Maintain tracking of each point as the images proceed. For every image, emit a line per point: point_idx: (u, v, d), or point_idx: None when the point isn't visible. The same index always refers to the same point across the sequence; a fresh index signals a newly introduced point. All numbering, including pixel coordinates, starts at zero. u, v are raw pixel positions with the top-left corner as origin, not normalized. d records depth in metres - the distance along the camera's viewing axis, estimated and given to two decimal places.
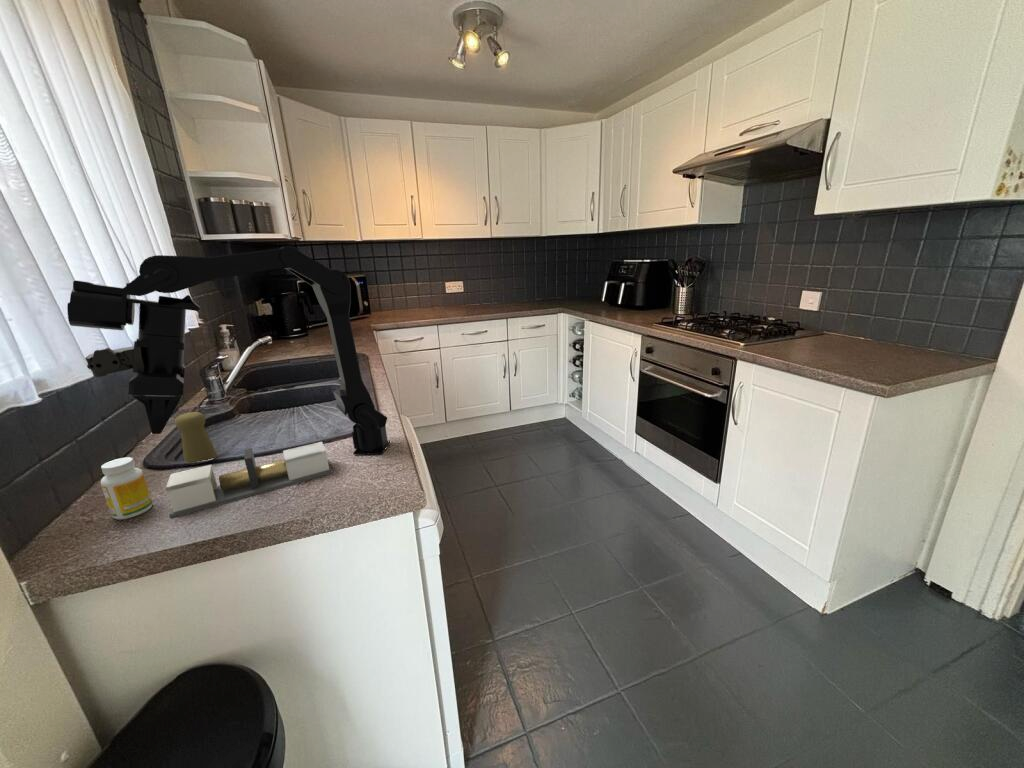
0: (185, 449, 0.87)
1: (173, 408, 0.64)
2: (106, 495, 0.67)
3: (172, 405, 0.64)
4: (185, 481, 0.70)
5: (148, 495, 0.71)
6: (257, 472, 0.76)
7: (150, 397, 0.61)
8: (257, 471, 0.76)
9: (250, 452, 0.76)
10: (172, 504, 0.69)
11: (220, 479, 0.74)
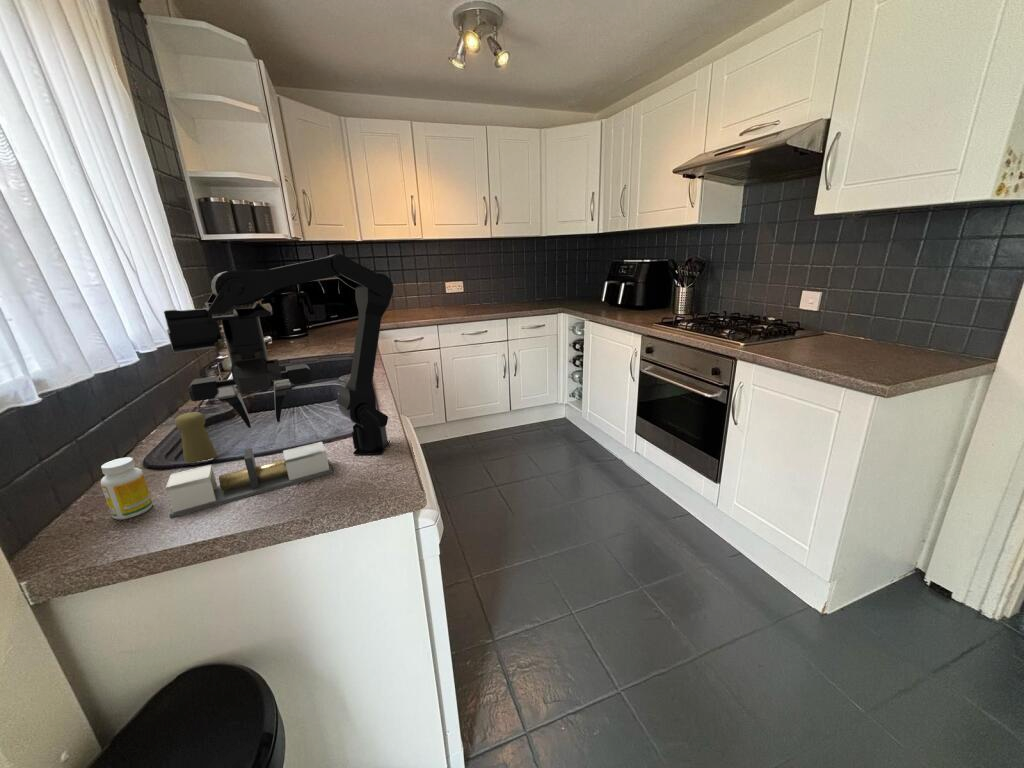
0: (185, 449, 0.87)
1: None
2: (106, 495, 0.67)
3: None
4: (185, 481, 0.70)
5: (148, 495, 0.71)
6: (257, 472, 0.76)
7: (291, 385, 0.77)
8: (257, 471, 0.76)
9: (250, 452, 0.76)
10: (172, 504, 0.69)
11: (220, 479, 0.74)
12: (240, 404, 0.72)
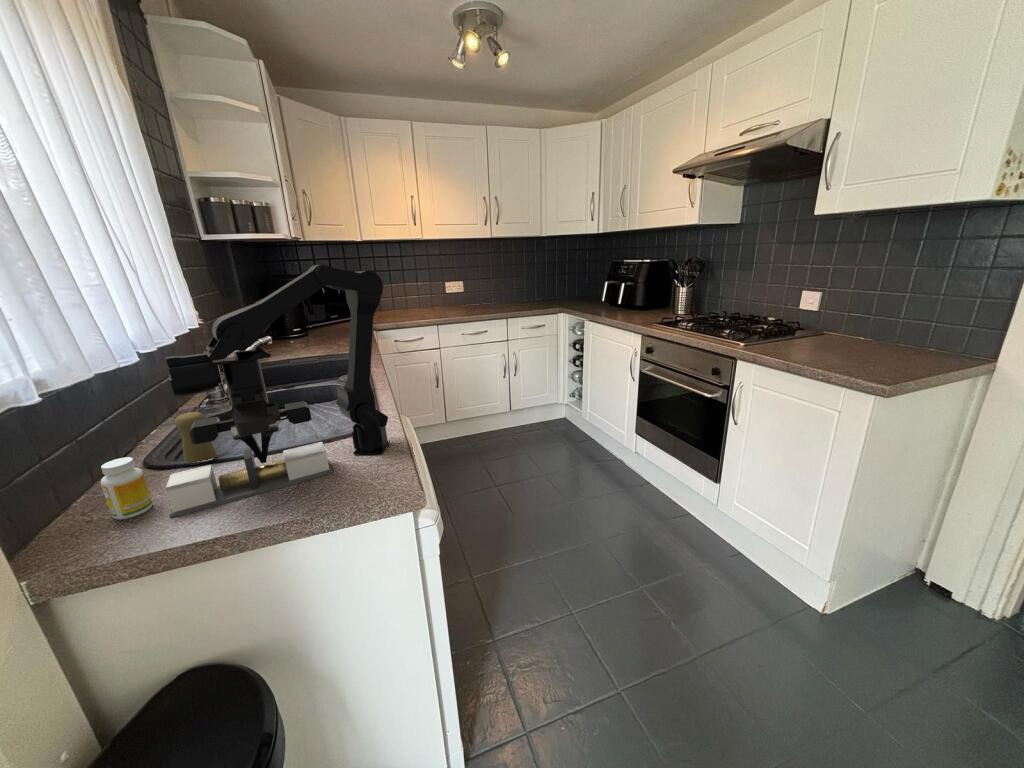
0: (185, 449, 0.87)
1: None
2: (106, 495, 0.67)
3: None
4: (185, 481, 0.70)
5: (148, 495, 0.71)
6: (257, 472, 0.76)
7: None
8: (257, 471, 0.76)
9: (250, 452, 0.76)
10: (172, 504, 0.69)
11: (220, 479, 0.74)
12: (254, 441, 0.75)
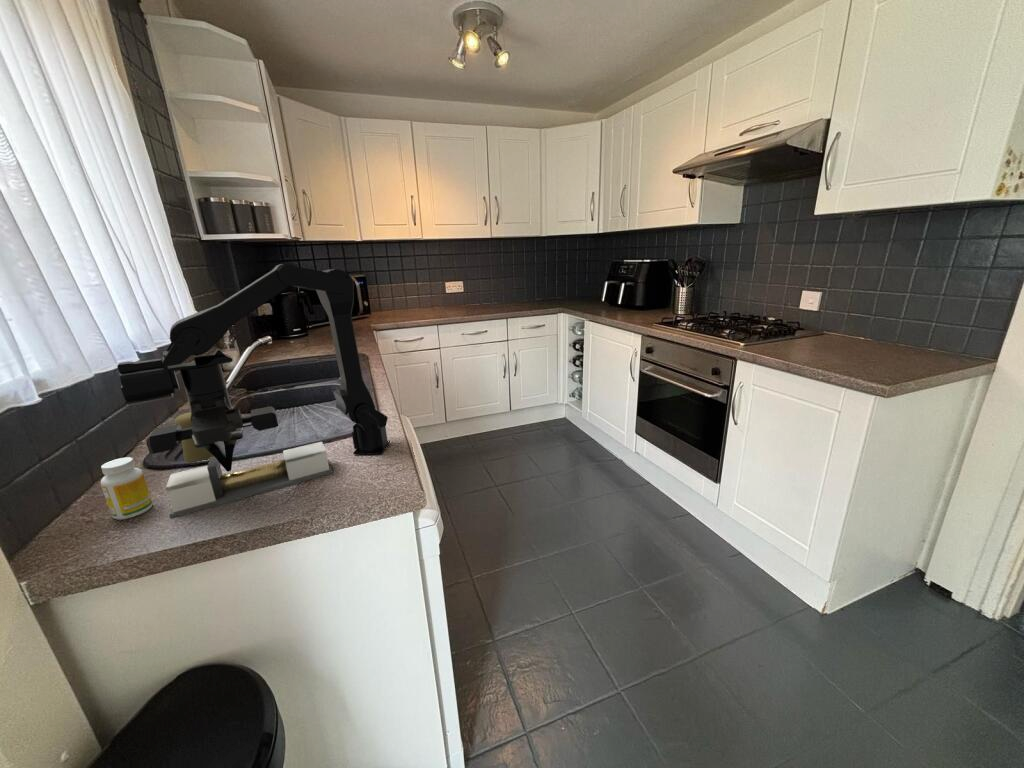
0: (185, 449, 0.87)
1: None
2: (106, 495, 0.67)
3: None
4: (185, 481, 0.70)
5: (148, 495, 0.71)
6: (222, 481, 0.74)
7: None
8: (222, 480, 0.74)
9: (214, 460, 0.74)
10: (172, 504, 0.69)
11: None
12: (217, 449, 0.72)
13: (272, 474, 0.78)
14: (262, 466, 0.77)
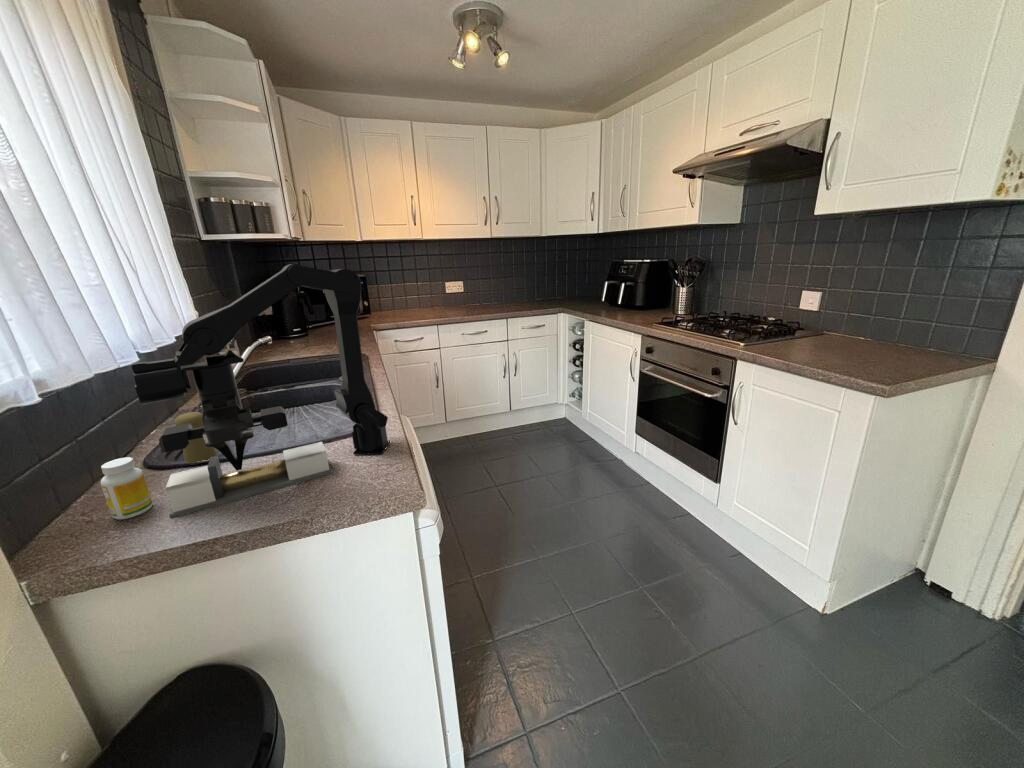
0: (185, 449, 0.87)
1: None
2: (106, 495, 0.67)
3: None
4: (185, 481, 0.70)
5: (148, 495, 0.71)
6: (222, 481, 0.74)
7: (253, 432, 0.75)
8: (222, 480, 0.74)
9: (215, 460, 0.74)
10: (172, 504, 0.69)
11: None
12: (227, 448, 0.73)
13: (273, 474, 0.78)
14: (262, 466, 0.78)
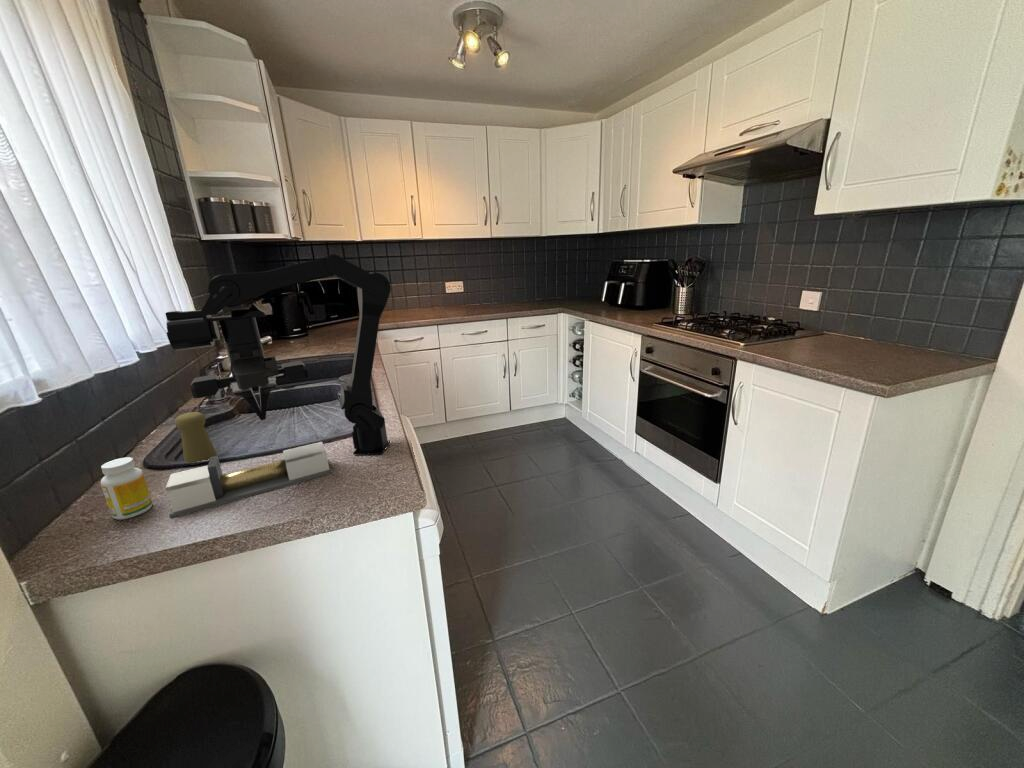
0: (185, 449, 0.87)
1: None
2: (106, 495, 0.67)
3: None
4: (185, 481, 0.70)
5: (148, 495, 0.71)
6: (222, 481, 0.74)
7: (276, 384, 0.80)
8: (222, 480, 0.74)
9: (215, 460, 0.74)
10: (172, 504, 0.69)
11: None
12: (253, 398, 0.77)
13: (273, 474, 0.78)
14: (262, 466, 0.78)
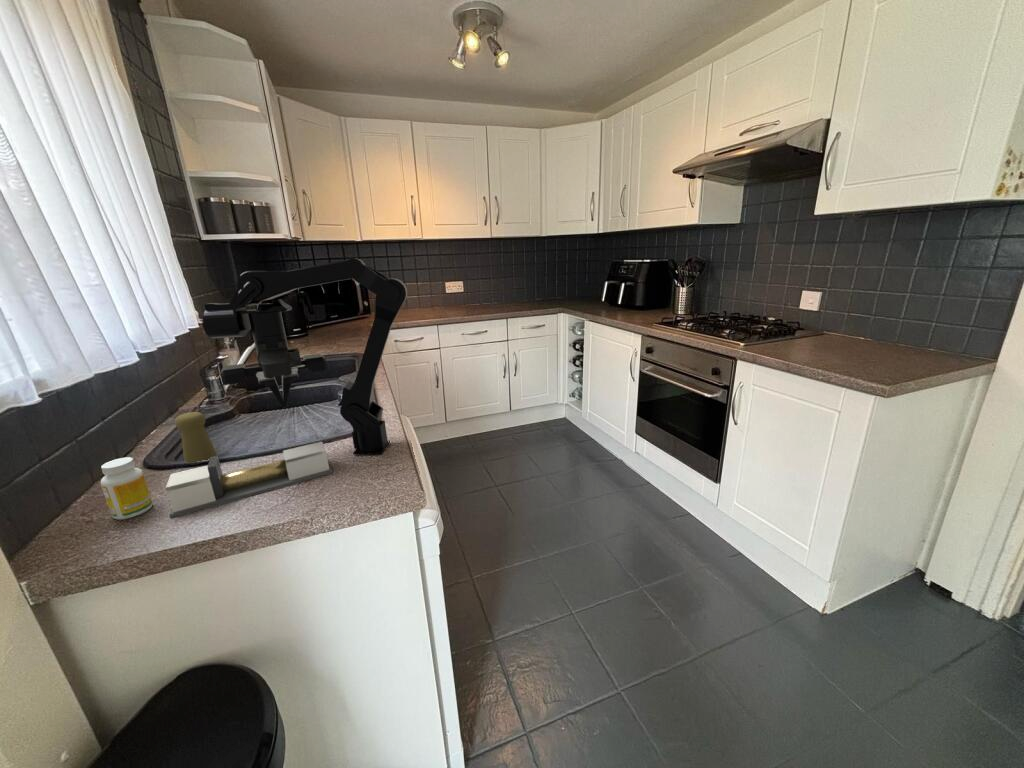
0: (185, 449, 0.87)
1: None
2: (106, 495, 0.67)
3: None
4: (185, 481, 0.70)
5: (148, 495, 0.71)
6: (222, 481, 0.74)
7: None
8: (222, 480, 0.74)
9: (215, 460, 0.74)
10: (172, 504, 0.69)
11: None
12: (276, 386, 0.83)
13: (273, 474, 0.78)
14: (262, 466, 0.78)
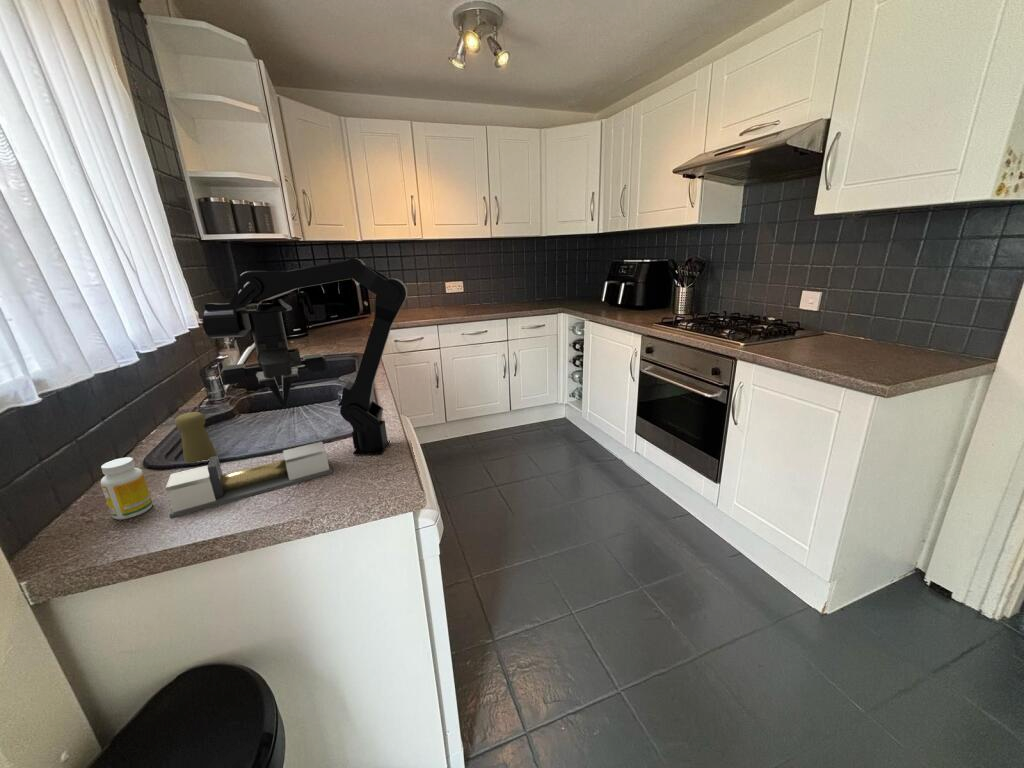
0: (185, 449, 0.87)
1: None
2: (106, 495, 0.67)
3: None
4: (185, 481, 0.70)
5: (148, 495, 0.71)
6: (222, 481, 0.74)
7: None
8: (222, 480, 0.74)
9: (215, 460, 0.74)
10: (172, 504, 0.69)
11: None
12: (276, 386, 0.83)
13: (273, 474, 0.78)
14: (262, 466, 0.78)
